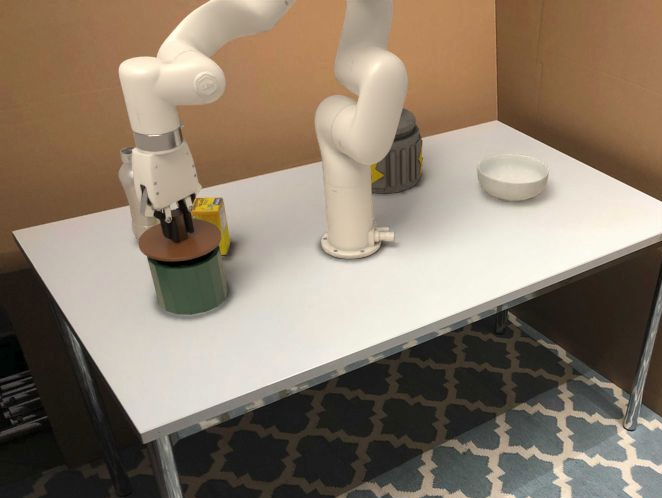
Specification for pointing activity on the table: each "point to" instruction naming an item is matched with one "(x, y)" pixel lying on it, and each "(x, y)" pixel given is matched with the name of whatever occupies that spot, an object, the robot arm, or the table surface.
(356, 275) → the table surface
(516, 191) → the cereal bowl
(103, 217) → the table surface
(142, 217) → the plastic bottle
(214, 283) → the canister
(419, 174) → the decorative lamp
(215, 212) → the supplement box
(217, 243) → the canister lid
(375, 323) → the table surface
